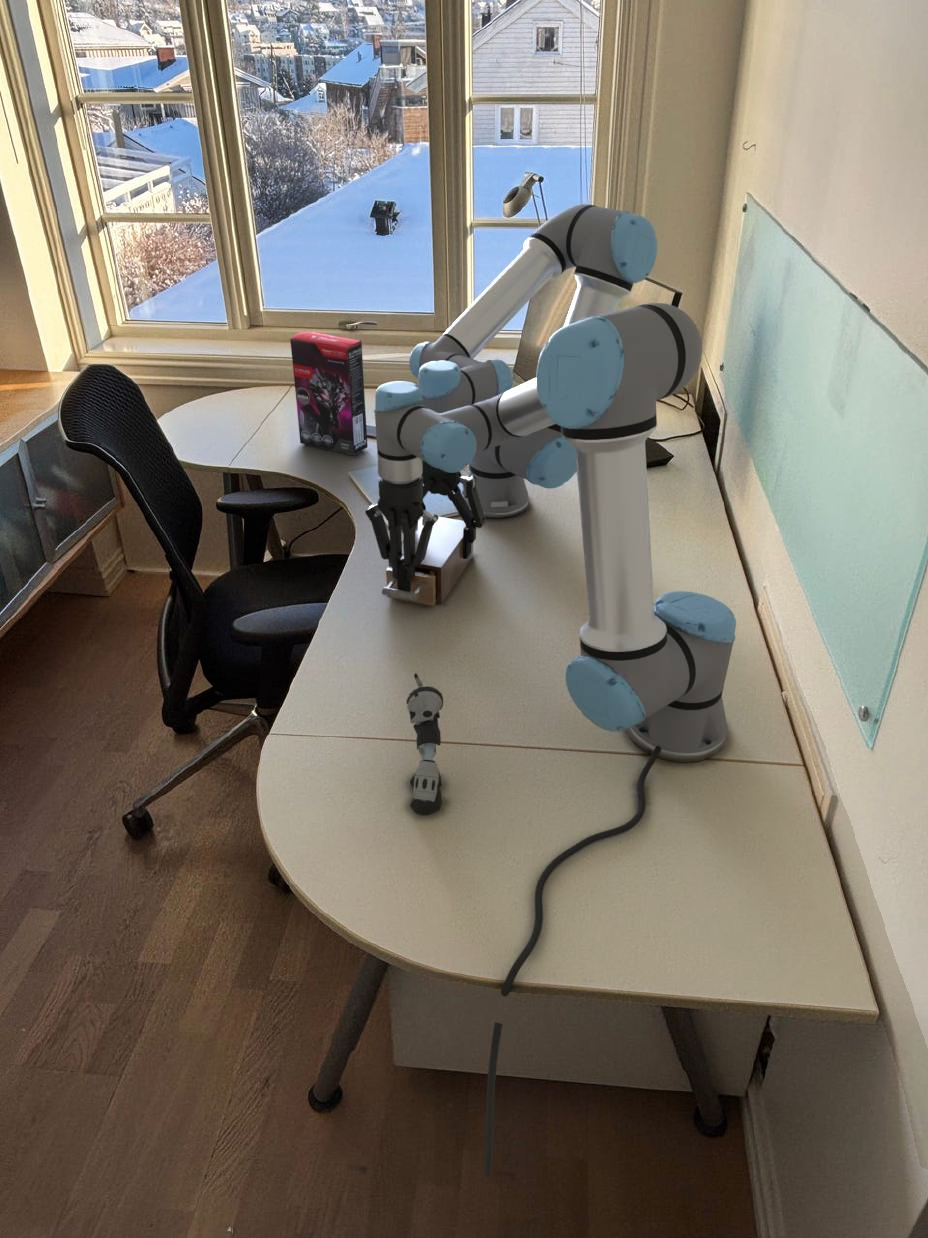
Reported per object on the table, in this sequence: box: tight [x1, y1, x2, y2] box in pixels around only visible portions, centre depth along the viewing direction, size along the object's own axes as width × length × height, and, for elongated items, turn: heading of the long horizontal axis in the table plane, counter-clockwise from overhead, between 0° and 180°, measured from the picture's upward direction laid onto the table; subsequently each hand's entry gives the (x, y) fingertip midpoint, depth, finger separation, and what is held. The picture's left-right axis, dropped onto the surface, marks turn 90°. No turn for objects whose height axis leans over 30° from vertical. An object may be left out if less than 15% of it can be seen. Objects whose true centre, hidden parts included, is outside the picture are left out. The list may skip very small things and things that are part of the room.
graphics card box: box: [289, 330, 368, 456], centre depth 225 cm, size 17×7×27 cm, turn 62°
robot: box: [405, 673, 444, 816], centre depth 125 cm, size 20×5×20 cm, turn 3°
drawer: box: [381, 566, 437, 607], centre depth 175 cm, size 23×9×6 cm, turn 161°
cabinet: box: [387, 516, 474, 604], centre depth 179 cm, size 19×10×8 cm, turn 161°
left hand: (440, 550), depth 183 cm, fingers closed on cabinet, 10 cm apart
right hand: (404, 593), depth 168 cm, fingers closed
